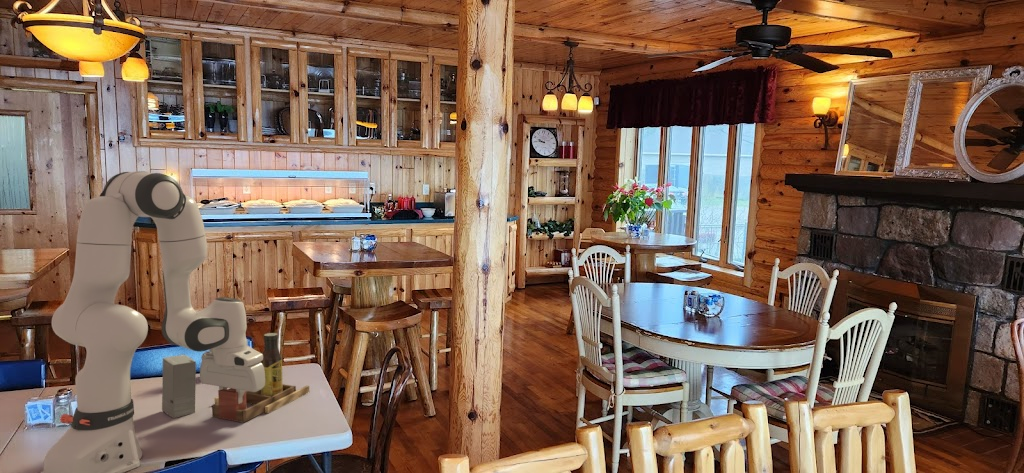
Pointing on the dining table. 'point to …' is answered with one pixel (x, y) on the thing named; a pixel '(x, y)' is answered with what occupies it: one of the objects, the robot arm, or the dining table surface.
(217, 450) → the dining table surface
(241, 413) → the wooden condiment caddy
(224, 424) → the dining table surface
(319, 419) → the dining table surface
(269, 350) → the sauce bottle
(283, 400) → the oak lane rails
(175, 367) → the skincare box
